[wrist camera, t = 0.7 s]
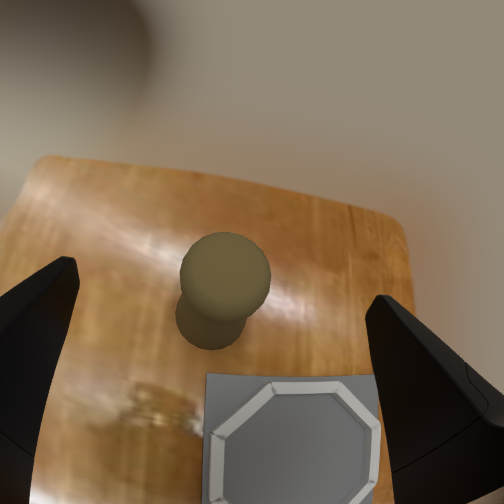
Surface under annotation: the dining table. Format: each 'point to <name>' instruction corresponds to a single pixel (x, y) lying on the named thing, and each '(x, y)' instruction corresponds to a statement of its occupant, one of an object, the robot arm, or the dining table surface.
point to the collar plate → (290, 440)
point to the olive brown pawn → (220, 289)
